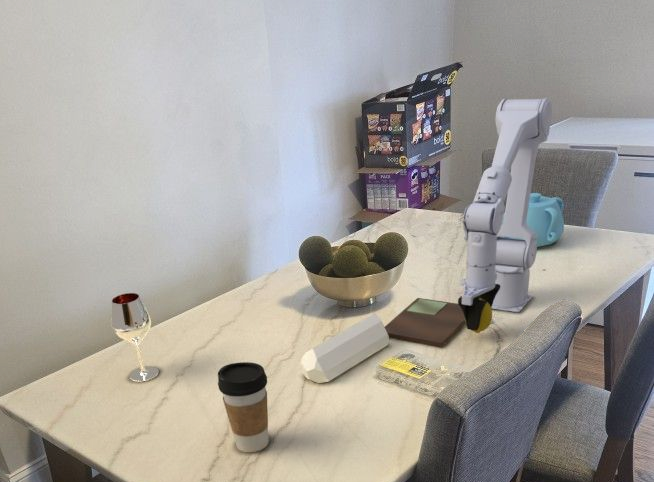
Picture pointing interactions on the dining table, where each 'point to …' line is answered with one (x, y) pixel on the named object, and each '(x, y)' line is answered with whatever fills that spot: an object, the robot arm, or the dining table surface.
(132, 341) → the wineglass
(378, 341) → the crystal
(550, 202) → the decorative pot
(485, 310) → the lemon
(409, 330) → the board
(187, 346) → the dining table surface
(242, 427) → the coffee cup
